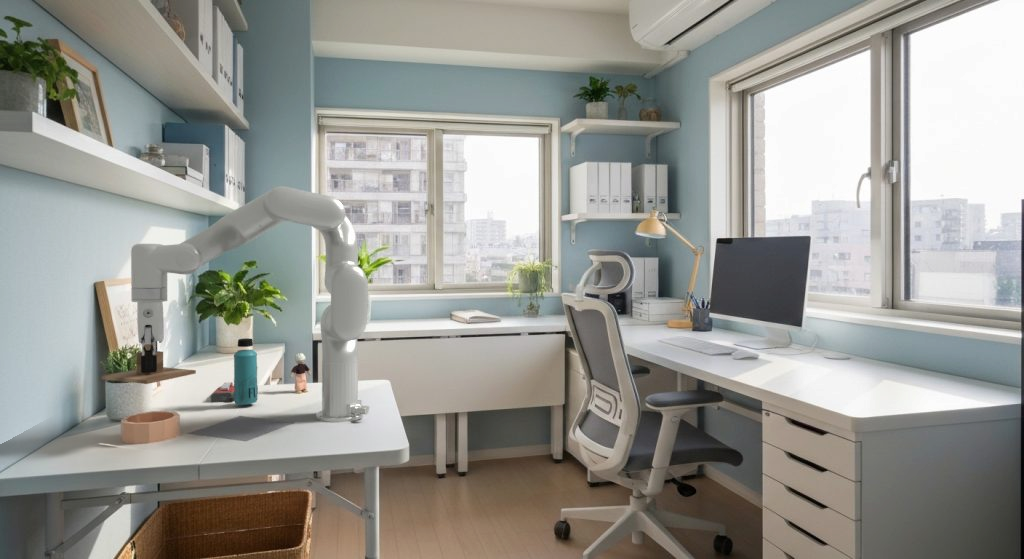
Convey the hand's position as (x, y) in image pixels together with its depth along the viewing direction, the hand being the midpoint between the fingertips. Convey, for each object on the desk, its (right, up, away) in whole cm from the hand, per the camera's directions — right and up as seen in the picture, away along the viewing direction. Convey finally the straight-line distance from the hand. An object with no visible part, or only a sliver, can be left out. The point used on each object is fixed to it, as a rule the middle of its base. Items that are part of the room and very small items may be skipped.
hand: (150, 369), depth 154 cm
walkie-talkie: (-1, -15, +47) cm, 49 cm away
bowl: (0, -17, +1) cm, 17 cm away
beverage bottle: (+10, -16, +32) cm, 37 cm away
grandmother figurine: (+19, -15, +52) cm, 58 cm away
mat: (+19, -17, +9) cm, 26 cm away
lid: (0, -2, 0) cm, 2 cm away
